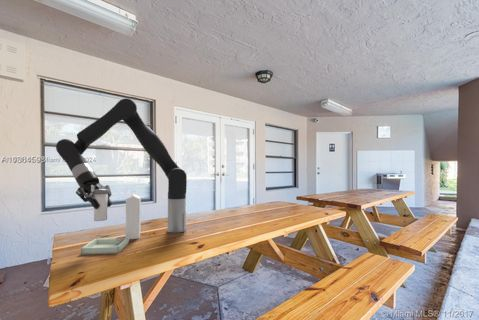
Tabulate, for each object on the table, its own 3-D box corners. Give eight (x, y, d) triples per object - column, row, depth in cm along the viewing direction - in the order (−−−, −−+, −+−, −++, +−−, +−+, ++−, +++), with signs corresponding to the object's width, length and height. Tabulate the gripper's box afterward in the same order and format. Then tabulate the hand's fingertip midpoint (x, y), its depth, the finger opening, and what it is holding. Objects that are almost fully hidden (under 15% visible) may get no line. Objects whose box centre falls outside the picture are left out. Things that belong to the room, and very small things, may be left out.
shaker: (109, 218, 103) (110, 188, 103) (104, 221, 98) (105, 190, 98) (96, 218, 103) (97, 188, 103) (90, 221, 98) (91, 190, 98)
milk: (125, 239, 114) (125, 192, 114) (127, 235, 120) (127, 191, 120) (139, 238, 116) (139, 192, 116) (140, 234, 121) (140, 190, 121)
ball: (123, 243, 107) (124, 236, 107) (121, 245, 104) (121, 238, 104) (116, 243, 107) (116, 236, 107) (114, 245, 104) (114, 238, 104)
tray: (128, 243, 109) (128, 237, 109) (118, 253, 97) (118, 247, 97) (95, 244, 107) (95, 238, 107) (80, 254, 95) (80, 248, 95)
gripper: (72, 170, 97) (91, 203, 92) (104, 169, 110) (123, 198, 105) (63, 183, 99) (82, 216, 94) (96, 181, 112) (114, 209, 107)
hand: (104, 206), depth 100 cm, fingers closed on shaker, 4 cm apart
